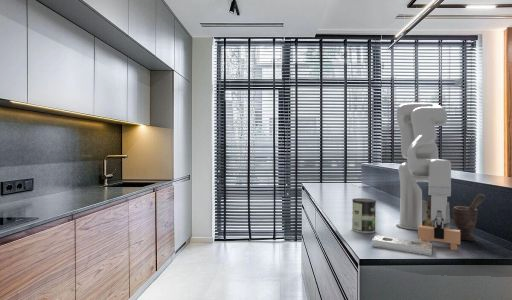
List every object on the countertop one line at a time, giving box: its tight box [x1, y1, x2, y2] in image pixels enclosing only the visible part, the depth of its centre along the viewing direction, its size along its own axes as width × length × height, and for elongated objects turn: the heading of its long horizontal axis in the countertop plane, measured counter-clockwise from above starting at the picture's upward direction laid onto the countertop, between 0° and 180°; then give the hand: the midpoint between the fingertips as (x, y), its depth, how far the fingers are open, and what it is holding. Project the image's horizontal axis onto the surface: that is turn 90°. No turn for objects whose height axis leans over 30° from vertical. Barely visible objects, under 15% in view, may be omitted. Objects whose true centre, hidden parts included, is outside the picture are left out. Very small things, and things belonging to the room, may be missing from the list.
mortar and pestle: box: [452, 193, 486, 242], centre depth 134 cm, size 12×9×20 cm
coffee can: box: [351, 197, 377, 234], centre depth 147 cm, size 10×10×14 cm
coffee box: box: [422, 198, 452, 229], centre depth 135 cm, size 9×6×16 cm
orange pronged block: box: [417, 225, 461, 251], centre depth 123 cm, size 14×4×7 cm, turn 60°
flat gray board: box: [371, 234, 433, 257], centre depth 121 cm, size 20×8×2 cm, turn 60°
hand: (439, 236), depth 123 cm, fingers open, 9 cm apart
